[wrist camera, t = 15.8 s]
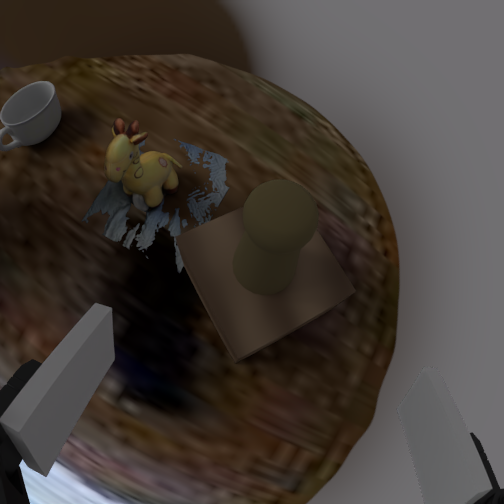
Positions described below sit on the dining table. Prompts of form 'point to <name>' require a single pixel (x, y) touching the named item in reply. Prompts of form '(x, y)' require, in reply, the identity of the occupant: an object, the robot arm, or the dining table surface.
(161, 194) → the stuffed giraffe
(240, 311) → the walnut block
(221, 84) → the dining table surface
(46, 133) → the teacup
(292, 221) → the cork
